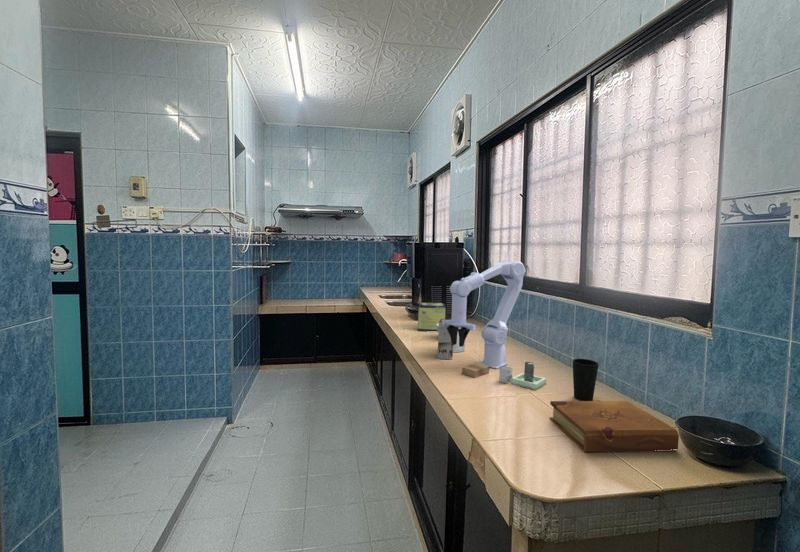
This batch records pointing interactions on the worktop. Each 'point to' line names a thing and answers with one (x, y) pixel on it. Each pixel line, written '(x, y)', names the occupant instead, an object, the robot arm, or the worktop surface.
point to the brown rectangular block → (475, 370)
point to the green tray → (535, 385)
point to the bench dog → (505, 374)
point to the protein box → (430, 315)
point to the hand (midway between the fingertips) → (457, 345)
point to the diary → (612, 426)
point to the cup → (584, 378)
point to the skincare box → (456, 347)
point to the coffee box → (444, 342)
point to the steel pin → (529, 372)
